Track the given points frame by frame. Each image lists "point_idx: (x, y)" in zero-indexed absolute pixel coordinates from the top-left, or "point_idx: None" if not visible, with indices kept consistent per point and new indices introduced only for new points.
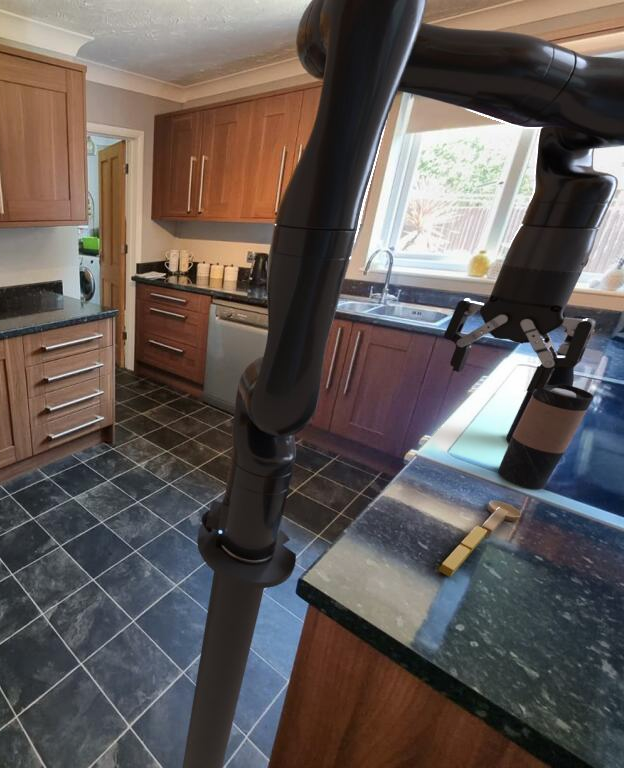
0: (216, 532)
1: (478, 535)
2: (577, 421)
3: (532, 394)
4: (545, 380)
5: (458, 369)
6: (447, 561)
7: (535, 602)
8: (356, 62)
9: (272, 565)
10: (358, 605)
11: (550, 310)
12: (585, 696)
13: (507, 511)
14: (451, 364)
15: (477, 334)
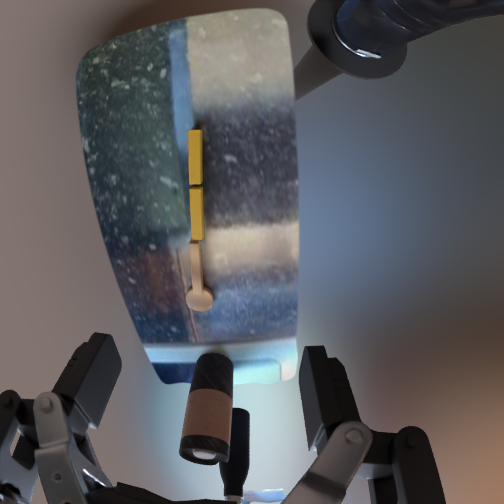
0: None
1: (194, 220)
2: (183, 427)
3: (243, 455)
4: (69, 364)
5: (308, 350)
6: (197, 139)
7: (132, 171)
8: None
9: (325, 22)
10: (236, 17)
11: None
12: (89, 99)
13: (193, 293)
14: (336, 361)
15: (311, 497)
